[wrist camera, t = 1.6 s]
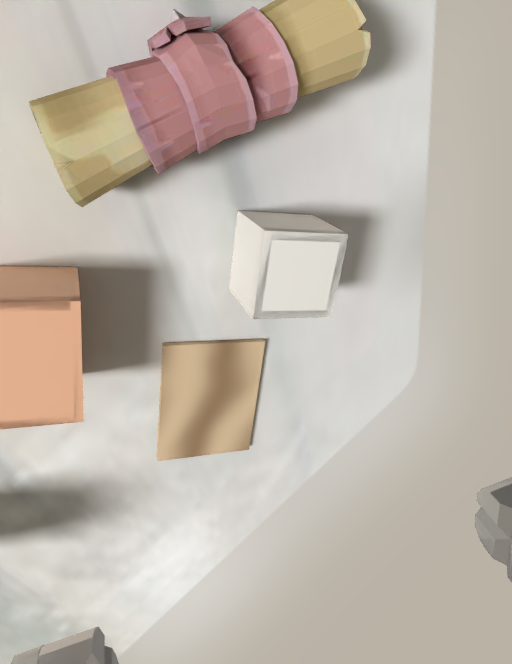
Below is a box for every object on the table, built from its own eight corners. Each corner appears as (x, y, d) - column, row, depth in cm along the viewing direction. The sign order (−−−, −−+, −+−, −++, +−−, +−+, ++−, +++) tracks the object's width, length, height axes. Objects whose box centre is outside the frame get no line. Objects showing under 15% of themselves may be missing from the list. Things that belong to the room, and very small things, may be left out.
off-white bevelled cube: (228, 289, 40) (252, 319, 35) (237, 210, 38) (265, 230, 33) (299, 289, 43) (331, 317, 38) (312, 214, 40) (348, 234, 35)
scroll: (307, -67, 30) (-4, 53, 27) (376, -26, 26) (20, 119, 23) (312, 57, 36) (61, 164, 34) (368, 105, 32) (88, 230, 30)
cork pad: (156, 457, 45) (157, 461, 45) (162, 343, 40) (163, 345, 40) (247, 446, 49) (249, 449, 48) (263, 338, 44) (265, 341, 43)
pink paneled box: (-4, 379, 37) (-15, 430, 32) (-17, 265, 33) (-32, 302, 28) (80, 374, 39) (83, 421, 34) (77, 267, 35) (80, 301, 30)
